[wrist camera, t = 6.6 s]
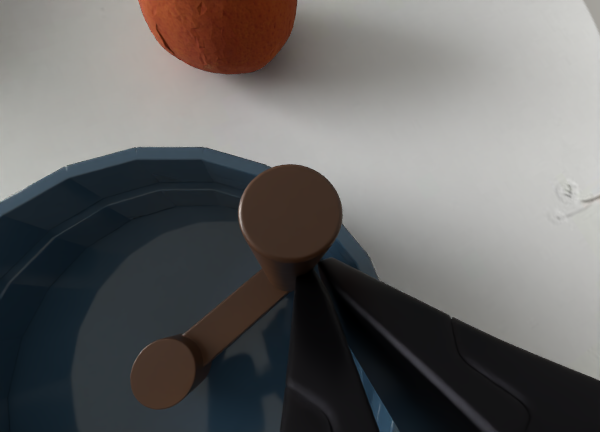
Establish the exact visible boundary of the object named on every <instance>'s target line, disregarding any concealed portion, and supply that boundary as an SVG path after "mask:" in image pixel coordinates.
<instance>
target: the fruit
mask: <svg viewBox="0 0 600 432" xmlns="http://www.w3.org/2000/svg"><path fill="white" fill-rule="evenodd" d="M138 1H139V4H140V7H141V10H142V13H143V16H144V18H145V21H146V22H147V24H148V26H149V28H150V30H151V32H152V33H153V35H154V36H155V38H156V40H157V41H158V42H159V43H160V45H161V46H162V47H163V48H164V49H165V50H166V51H168V52H169V53H170V54H172V55H173V56H175V57H176V58H178V59H179V60H182V61H183V62H185V63H187V64H189V65H190V66H193V67H195V68H198V69H201V70H204V71H208V72H213V73H220V74H241V73H249V72H254V71H256V70H259V69H261V68H263V67H264V66H265V65H266V64H268V63H269V62H270V61H271V60H272V59H273V58H274V57H275V56H276V54H277V53H278V52H279V51H280V50H281V48H282V47H283V46H284V44H285V43H286V41H287V39H288V38H289V36H290V34H291V32H292V29H293V25H294V20H295V15H296V8H297V0H138Z"/></svg>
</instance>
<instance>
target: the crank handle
mask: <svg viewBox="0 0 600 432" xmlns="http://www.w3.org/2000/svg"><path fill="white" fill-rule="evenodd" d="M342 218H343V212H342V204H341V201H340V198H339V195H338V193H337V191H336V190H335V188H334V187H333V185H332V184H331V183H330V182H329V181H328V180H327V179H326V178H325V177H324V176H323V175H321V174H320V173H319V172H317V171H315V170H313V169H311V168H308V167H305V166H301V165H293V164H287V165H280V166H275V167H272V168H270V169H267V170H265V171H264V172H262V173H260V174H259V175H258V176H256V177H255V178H254V179H253V180H252V181H251V182H250V183H249V184H248V186H247V187H246V189H245V190H244V192H243V194H242V197H241V199H240V203H239V209H238V220H239V225H240V229H241V231H242V234H243V236H244V238H245V240H246V241H247V243H248V245H249V247H250V248H251V250H252V252H253V254H254V255H255V257H256V259H257V260H258V262H259V264H260V266H261V267H262V269H261V270H260V271H258V272H257V273H256V274H255V275H254V276H252V277H251V278H250V279H249V280H248V281H246V282H245V283H244V284H243V285H242V286H240V287H239V288H238V289H237V290H236V291H234V292H233V293H232V294H231V295H230V296H228V297H227V298H226V299H225V300H224V301H222V302H221V303H220V304H219V305H218V306H216V307H215V308H214V309H213V310H212V311H210V312H209V313H208V314H207V315H206V316H204V317H203V318H202V319H201V320H200V321H198V322H197V323H196V324H195V325H194V326H192V327H191V328H190V329H189V330H188V331H186V332H185V333H182V334H178V335H174V336H170V337H166V338H163V339H159V340H156V341H154V342H152V343H150V344H149V345H147V346H146V347H145V348H144V349H143V350H142V351H141V352H140V353H139V355H138V356H137V358H136V359H135V361H134V364H133V366H132V370H131V375H130V383H131V389H132V392H133V394H134V396H135V398H136V399H137V400H138V401H139V402H140V403H141V404H142V405H144V406H145V407H148V408H150V409H155V410H162V409H167V408H170V407H172V406H175V405H176V404H178V403H179V402H181V401H182V400H183V399H184V398H185V397H186V396H187V395H188V394H189V393H191V392H192V391H193V390H194V389H195V388H196V387H197V386H198V385H199V384H200V383H201V382H202V381H203V380H204V379H205V378H206V376H207V375H208V373H209V371H210V368H211V364H212V360H214V359H215V358H216V357H217V356H218V355H219V354H220V353H222V352H223V351H224V350H225V349H226V348H227V347H228V346H229V345H231V344H232V343H233V342H234V341H235V340H236V339H237V338H239V337H240V336H241V335H242V334H243V333H244V332H245V331H246V330H248V329H249V328H250V327H251V326H252V325H253V324H254V323H256V322H257V321H258V320H259V319H260V318H261V317H262V316H263V315H265V314H266V313H267V312H268V311H269V310H270V309H271V308H273V307H274V306H275V305H276V304H277V303H278V302H279V301H280V300H282V299H283V298H284V297H285V296H286V295H287V294H288V293H290V292H291V291H294V290H295V281H296V277H298V276H301V275H303V274H306V273H307V272H309V271H310V270H312V269H313V268H314V267H315V266H316V265H317V263H318V262H319V261H320V259H321V258H322V257H323V256H324V254H325V253H326V252H327V251H328V249H329V248H330V247H331V245H332V244H333V243H334V241H335V240H336V238H337V236H338V234H339V232H340V229H341V225H342Z"/></svg>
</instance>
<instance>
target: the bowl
mask: <svg viewBox="0 0 600 432" xmlns="http://www.w3.org/2000/svg"><path fill="white" fill-rule="evenodd" d="M270 168H271V167H270V166H267V165H265V164H261V163H258V162H254V161H251V160H247V159H244V158H241V157H237V156H234V155H230V154H227V153H223V152H220V151H216V150H213V149H209V148H204V147H137V148H136V147H135V148H131V149H127V150H123V151H120V152H116V153H112V154H108V155H105V156H101V157H97V158H93V159H90V160H86V161H82V162H78V163H75V164H71V165H67V166H66V167H63V168H61V169H59V170H57V171H55V172H53V173H52V174H50V175H48V176H46V177H44V178H43V179H41V180H39V181H37V182H35V183H33V184H32V185H30V186H28V187H26V188H24V189H23V190H21V191H19V192H17V193H15V194H13V195H12V196H10V197H8V198H6V199H4V200H2V201H1V202H0V432H280V426H281V418H282V410H283V401H284V391H285V388H286V384H285V383H286V373H287V363H288V352H289V342H290V332H291V322H292V312H293V301H294V291H295V290H294V291H291V292H290V293H288V294H287V295H286V296H285V297H284V298H283V299H282V300H280V301H279V302H278V303H277V304H276V305H275V306H274V307H273V308H271V309H270V310H269V311H268V312H267V313H266V314H265V315H263V316H262V317H261V318H260V319H259V320H258V321H257V322H256V323H254V324H253V325H252V326H251V327H250V328H249V329H248V330H246V331H245V332H244V333H243V334H242V335H241V336H240V337H239V338H237V339H236V340H235V341H234V342H233V343H232V344H231V345H229V346H228V347H227V348H226V349H225V350H224V351H223V352H222V353H220V354H219V355H218V356H217V357H216V358H215V359H214V360H212V364H211V368H210V371H209V373H208V375H207V376H206V378H205V379H204V380H203V381H202V382H201V383H200V384H199V385H198V386H197V387H196V388H195V389H194V390H193V391H192V392H191V393H189V394H188V395H187V396H186V397H185V398H184V399H183V400H182V401H181V402H179V403H178V404H176V405H175V406H172V407H170V408H167V409H162V410H155V409H150V408H148V407H145V406H144V405H142V404H141V403H140V402H139V401H138V400H137V399H136V398H135V396H134V394H133V392H132V389H131V383H130V375H131V370H132V366H133V364H134V361H135V359H136V358H137V356H138V355H139V353H140V352H141V351H142V350H143V349H144V348H145V347H146V346H147V345H149V344H150V343H152V342H154V341H156V340H159V339H163V338H166V337H170V336H174V335H178V334H182V333H185V332H186V331H188V330H189V329H190V328H191V327H192V326H194V325H195V324H196V323H197V322H198V321H200V320H201V319H202V318H203V317H204V316H206V315H207V314H208V313H209V312H210V311H212V310H213V309H214V308H215V307H216V306H218V305H219V304H220V303H221V302H222V301H224V300H225V299H226V298H227V297H228V296H230V295H231V294H232V293H233V292H234V291H236V290H237V289H238V288H239V287H240V286H242V285H243V284H244V283H245V282H246V281H248V280H249V279H250V278H251V277H252V276H254V275H255V274H256V273H257V272H258V271H260V270H261V269H262V267H261V266H260V264H259V262H258V260H257V259H256V257H255V255H254V254H253V252H252V250H251V248H250V247H249V245H248V243H247V241H246V240H245V238H244V236H243V234H242V231H241V229H240V225H239V220H238V209H239V203H240V199H241V197H242V194H243V192H244V190H245V189H246V187H247V186H248V184H249V183H250V182H251V181H252V180H253V179H254V178H255V177H256V176H258V175H259V174H260V173H262V172H264V171H265V170H267V169H270ZM330 257H332V258H335V259H337V260H339V261H341V262H343V263H345V264H347V265H349V266H351V267H353V268H355V269H357V270H359V271H361V272H363V273H365V274H367V275H369V276H371V277H373V278H375V279H377V280H379V278H378V276H377V274H376V271H375V269H374V267H373V264H372V262H371V260H370V257H369V256H368V254H367V253H366V252H365V250H364V249H363V248H362V247H361V246H360V244H359V243H358V242H357V241H356V240H355V238H354V237H353V236H352V235H351V234H350V233H349V231H348V230H347V229H346V228H345V227H344V225H343V224H342V225H341V229H340V232H339V234H338V236H337V238H336V240H335V241H334V243H333V244H332V245H331V247H330V248H329V249H328V251H327V252H326V253H325V254H324V256H323V257H322V258H321V259H320V261H321V260H324V259H327V258H330ZM314 270H315V271H316V273H317V274H318V276H319V278H320V273H319V269H318V263H317V265H316V266H315V267H314ZM320 279H321V278H320ZM349 348H350V347H349ZM350 351H351V354H352V356H353V359H354V362H355V365H356V367H357V370H358V373H359V376H360V378H361V381H362V384H363V387H364V389H365V392H366V395H367V398H368V400H369V403H370V406H371V409H372V411H373V414H374V417H375V420H376V422H377V425H378V428H379V431H380V432H400V431H399V430H398V428H397V426H396V425H395V423H394V421H393V419H392V418H391V416H390V414H389V413H388V411H387V409H386V408H385V406H384V404H383V403H382V401H381V399H380V398H379V396H378V394H377V393H376V391H375V389H374V387H373V386H372V384H371V382H370V381H369V379H368V377H367V376H366V374H365V372H364V371H363V369H362V367H361V366H360V364H359V362H358V361H357V359H356V357H355V355H354V354H353V352H352V350H351V349H350Z"/></svg>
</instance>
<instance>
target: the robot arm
mask: <svg viewBox="0 0 600 432" xmlns="http://www.w3.org/2000/svg"><path fill="white" fill-rule="evenodd" d="M318 269H319V273H320V278H321V279H320V278H319V276H318V274H317V273H316V271H315V270H314V268H313V269H312V270H310V271H309V272H307V273H306V274H303V275H301V276H298V277H296V281H295V291H294V301H293V312H292V322H291V332H290V342H289V352H288V363H287V373H286V383H285V384H286V388H285V391H284V401H283V410H282V418H281V426H280V432H380V431H379V428H378V425H377V422H376V420H375V417H374V414H373V411H372V409H371V406H370V403H369V400H368V398H367V395H366V392H365V389H364V387H363V384H362V381H361V378H360V376H359V373H358V370H357V367H356V365H355V362H354V359H353V356H352V354H351V351H350V349H351V350H352V352H353V354H354V355H355V357H356V359H357V361H358V362H359V364H360V366H361V367H362V369H363V371H364V372H365V374H366V376H367V377H368V379H369V381H370V382H371V384H372V386H373V387H374V389H375V391H376V393H377V394H378V396H379V398H380V399H381V401H382V403H383V404H384V406H385V408H386V409H387V411H388V413H389V414H390V416H391V418H392V419H393V421H394V423H395V425H396V426H397V428H398V430H399V431H400V432H600V381H599V380H597V379H594V378H592V377H590V376H587V375H585V374H582V373H580V372H577V371H575V370H572V369H570V368H567V367H565V366H562V365H560V364H557V363H555V362H552V361H550V360H547V359H545V358H542V357H540V356H538V355H535V354H533V353H530V352H528V351H526V350H523V349H521V348H519V347H516V346H514V345H512V344H509V343H507V342H504V341H502V340H500V339H498V338H496V337H493V336H491V335H489V334H487V333H485V332H483V331H481V330H479V329H476V328H474V327H472V326H470V325H468V324H466V323H464V322H462V321H460V320H458V319H456V318H454V317H453V318H451V317H450V316H449V315H448V314H446V313H444V312H442V311H440V310H438V309H436V308H434V307H431V306H429V305H427V304H425V303H423V302H421V301H419V300H417V299H415V298H413V297H411V296H409V295H407V294H405V293H403V292H401V291H399V290H397V289H395V288H393V287H391V286H389V285H387V284H385V283H383V282H381V281H379V280H377V279H375V278H373V277H371V276H369V275H367V274H365V273H363V272H361V271H359V270H357V269H355V268H353V267H351V266H349V265H347V264H345V263H343V262H341V261H339V260H337V259H335V258H332V257H330V258H327V259H324V260H321V261H319V262H318ZM349 347H350V348H349Z"/></svg>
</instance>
